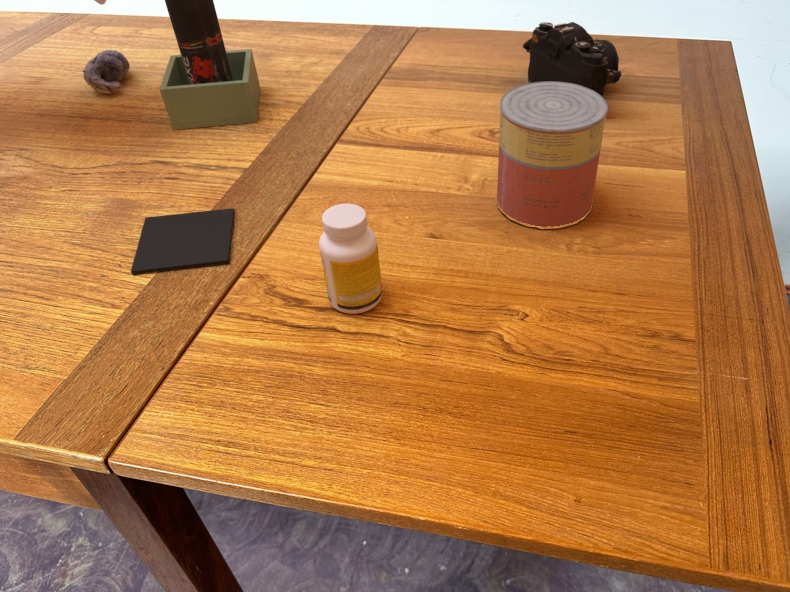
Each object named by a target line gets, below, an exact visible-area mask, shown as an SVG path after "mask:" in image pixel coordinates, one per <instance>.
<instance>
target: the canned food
mask: <svg viewBox="0 0 790 592" xmlns="http://www.w3.org/2000/svg"><path fill="white" fill-rule="evenodd" d="M499 100H500V101H499V111H500V113H499V114H500V115H499V134H498V135H499V137H498V139H499V140H498V162H497V163H498V165H497V187H496V188H497V189H496V190H497V191H496V196H497V202H498V204H499V207H500V208H501V209H502V210H503V212H505V213H506V214H507V215H509V216H510V217H512V218H514V219H516V220H518V221H521V222H523V223H527V224H530V225H535V226H542V227H547V226H551V227H553V226H560V225H565V224H569V223H573V222H575V221H577V220H579V219H581V218H582V217H584V216H585V215H586V214H587V213H588V212H589V211H590V209H591V206H592V201H593V200H594V195H595V194H594V193H595V187H596V181H597V174H598V169H599V162H600V155H601V150H602V145H603V144H602V142H603V137H604V131H605V124H606V117H607V114H608V111H609V105H608V102H607V100H606V99H605V98H604V96H603V97H602V96H601V95H600V94H598V93H597V92H595V91H593V90H591V89H589V88H586V87H583V86H580V85H577V84H572V83H566V82H555V81H545V82H534V83H531V82H529V83H525V84H521V85H518V86H516V87H513V88H511V89H510V90H508V91H506V93H504V94H503V95H502V96H501V98H500V99H499ZM592 207H593V206H592Z"/></svg>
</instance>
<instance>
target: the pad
mask: <svg viewBox="0 0 790 592" xmlns="http://www.w3.org/2000/svg"><path fill="white" fill-rule="evenodd" d="M235 212H236V211H235V208H234V207H231V208H221V209H213V210H212V209H211V210H204V211H202V210H201V211H193V212H185V213H176V214H175V213H174V214H165V215H156V216H147V217H145V218H144V222H143V225H142V228H141V234H140V235H139V239H138V244H137V247H136V251H135V254H134V257H133V262H132V264H131V265H132V266H131V269H130V273H131V275H133V276H134V275H142V274H151V273H159V272H168V271H177V270H186V269H194V268H203V267H213V266H220V265H228V264H230V260H231V259H230V258H231V250H232V239H233V233H234V232H233V231H234V223H235V215H236V213H235Z"/></svg>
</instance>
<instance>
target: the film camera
mask: <svg viewBox="0 0 790 592" xmlns="http://www.w3.org/2000/svg"><path fill="white" fill-rule="evenodd" d="M522 47H523V49H524V50H525V51H526V53H529V63H528V66H527V67H528V68H527V81H528V82H529V83H534V82H545V81H555V82H566V83H572V84H577V85H580V86H583V87H586V88H589V89H591V90H593V91H595V92H597V93H598V94H600V95H601V96H602V97H603V98H604V89H605V87H606V86H607V85H610V84H612V85H613V84H616V83H617V82H619V81H620V80H621V77H622V71H621V70H619V63H620V62H619V61H620V57H619V55H618V51H617V49H616V46H615V45H614V44H613V42H611V41H610V40H608V39H597V38H595V39H594V38H593V37H592V35H590V34H589V33H588V31H587V30H586V29H585V28H584V27H583V26H581V25H580V24H578V23H576V22H574V21H571V22H568V23H566V22H565V23H564V22H563V23H558V24H553V23H552V22H540V23H539V25H538V26H536V27H535V28H534V29H533V30H532V37H530V38H529V39H527V40H526V41H524V43H523V44H522Z"/></svg>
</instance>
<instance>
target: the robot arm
mask: <svg viewBox="0 0 790 592" xmlns="http://www.w3.org/2000/svg"><path fill="white" fill-rule="evenodd" d="M93 1H94V2H96V3H98V5H102V6H103V5H105V4H106V2H107V0H93Z"/></svg>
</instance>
